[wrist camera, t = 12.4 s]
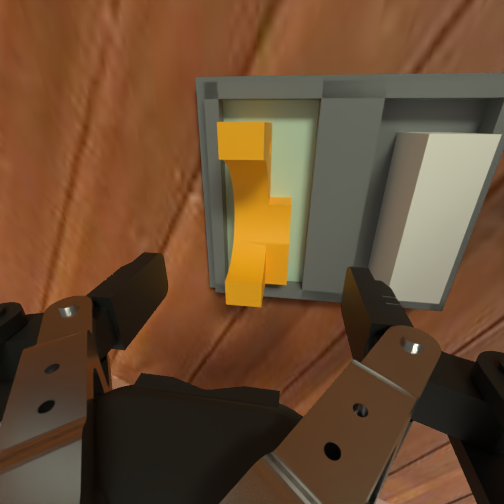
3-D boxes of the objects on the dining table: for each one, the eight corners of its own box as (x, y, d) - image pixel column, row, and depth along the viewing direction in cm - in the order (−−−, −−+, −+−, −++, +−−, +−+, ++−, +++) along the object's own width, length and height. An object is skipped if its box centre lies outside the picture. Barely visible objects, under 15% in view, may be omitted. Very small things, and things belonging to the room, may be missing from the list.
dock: (520, 74, 18) (620, 52, 12) (438, 299, 25) (477, 346, 20) (199, 79, 20) (166, 62, 15) (212, 282, 28) (193, 319, 23)
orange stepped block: (287, 266, 25) (285, 309, 19) (241, 263, 25) (226, 304, 20) (296, 123, 20) (298, 121, 14) (238, 123, 20) (216, 121, 14)
